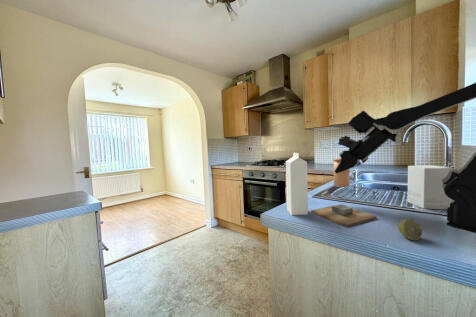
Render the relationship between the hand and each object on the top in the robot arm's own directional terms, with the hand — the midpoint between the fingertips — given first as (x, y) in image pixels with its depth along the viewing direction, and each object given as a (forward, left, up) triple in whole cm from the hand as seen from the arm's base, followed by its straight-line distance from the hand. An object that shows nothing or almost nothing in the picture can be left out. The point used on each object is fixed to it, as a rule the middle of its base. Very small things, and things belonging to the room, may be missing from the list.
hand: (337, 171), depth 76 cm
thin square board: (-9, +9, -13) cm, 19 cm away
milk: (+1, +20, -14) cm, 24 cm away
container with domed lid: (-1, -1, -6) cm, 6 cm away
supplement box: (-17, -27, -14) cm, 35 cm away
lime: (-27, +8, -14) cm, 32 cm away
